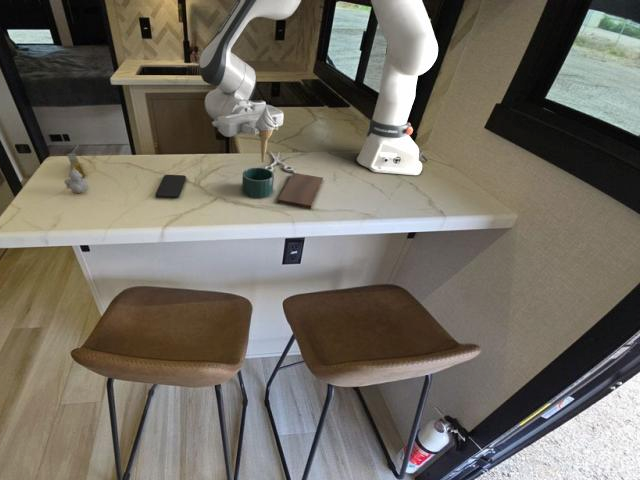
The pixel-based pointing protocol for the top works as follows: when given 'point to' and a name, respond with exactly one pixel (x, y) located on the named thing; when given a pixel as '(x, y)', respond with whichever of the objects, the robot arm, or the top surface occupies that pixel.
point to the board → (300, 190)
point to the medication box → (75, 163)
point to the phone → (170, 186)
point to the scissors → (279, 163)
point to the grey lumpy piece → (76, 182)
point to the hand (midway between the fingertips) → (267, 129)
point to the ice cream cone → (265, 130)
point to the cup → (257, 182)
